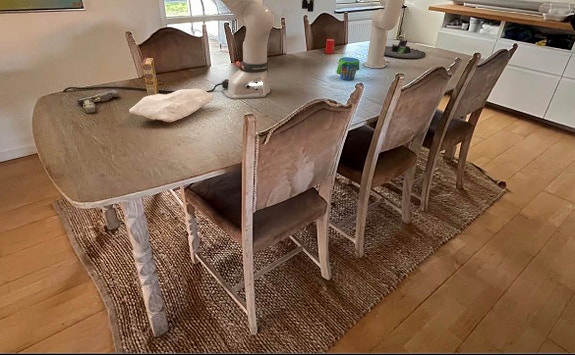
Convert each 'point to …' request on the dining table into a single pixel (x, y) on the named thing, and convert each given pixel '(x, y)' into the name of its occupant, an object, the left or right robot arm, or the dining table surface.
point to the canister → (330, 46)
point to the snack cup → (348, 67)
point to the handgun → (95, 100)
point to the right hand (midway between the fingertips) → (307, 10)
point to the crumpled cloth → (171, 104)
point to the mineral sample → (403, 51)
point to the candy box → (150, 76)
